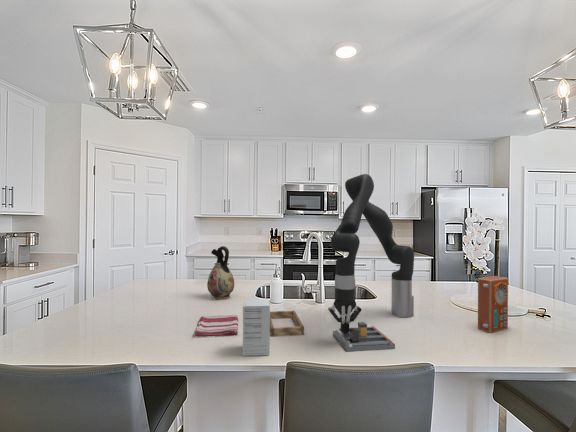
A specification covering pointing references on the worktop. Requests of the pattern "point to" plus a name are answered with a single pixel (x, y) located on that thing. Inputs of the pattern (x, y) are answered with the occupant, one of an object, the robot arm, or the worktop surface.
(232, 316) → the dish towel
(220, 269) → the ceramic jug
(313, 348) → the worktop surface
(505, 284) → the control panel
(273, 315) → the wooden frame
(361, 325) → the breaker
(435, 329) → the worktop surface
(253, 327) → the supplement box
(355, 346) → the breaker panel
